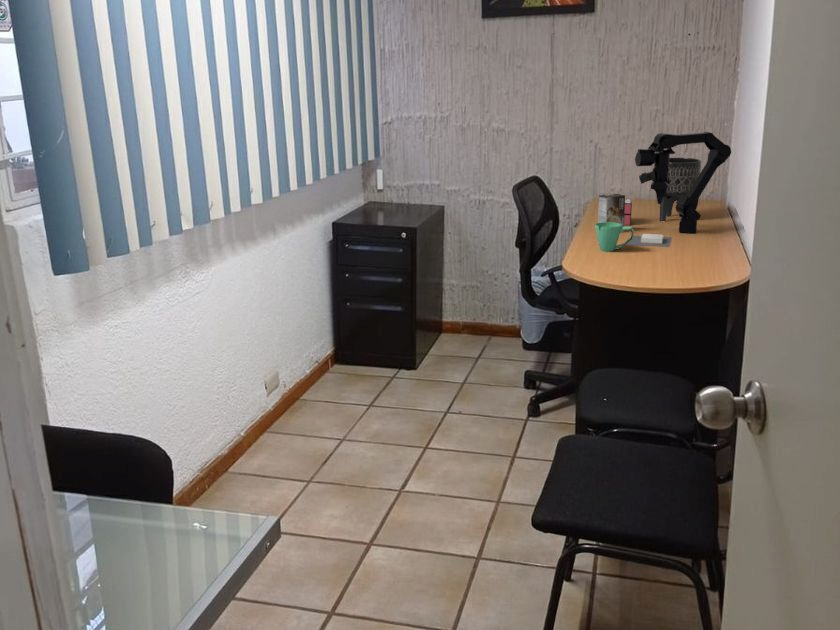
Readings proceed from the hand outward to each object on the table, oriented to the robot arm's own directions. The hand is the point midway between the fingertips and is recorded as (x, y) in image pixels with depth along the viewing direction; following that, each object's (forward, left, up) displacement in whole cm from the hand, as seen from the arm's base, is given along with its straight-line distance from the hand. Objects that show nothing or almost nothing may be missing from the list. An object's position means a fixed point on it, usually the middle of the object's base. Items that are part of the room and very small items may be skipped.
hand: (659, 203), depth 333 cm
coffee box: (+19, 0, -13) cm, 23 cm away
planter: (-5, -36, -13) cm, 39 cm away
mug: (+14, +32, -13) cm, 37 cm away
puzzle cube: (+18, -22, -13) cm, 31 cm away
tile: (+1, +11, -11) cm, 16 cm away
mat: (+2, +15, -13) cm, 20 cm away
